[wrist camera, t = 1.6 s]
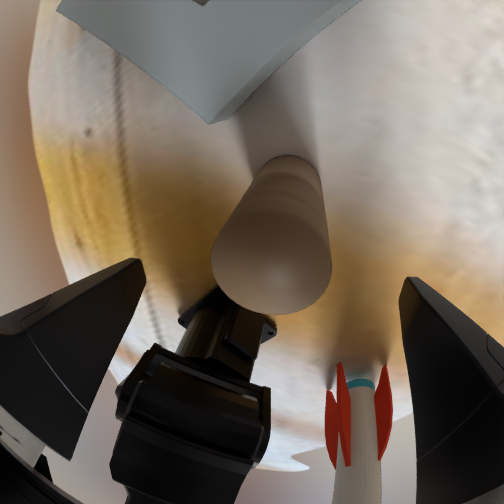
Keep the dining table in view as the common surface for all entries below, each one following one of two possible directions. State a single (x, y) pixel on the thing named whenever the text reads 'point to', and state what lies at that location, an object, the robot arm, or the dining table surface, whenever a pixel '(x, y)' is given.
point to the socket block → (206, 42)
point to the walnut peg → (276, 241)
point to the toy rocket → (358, 436)
